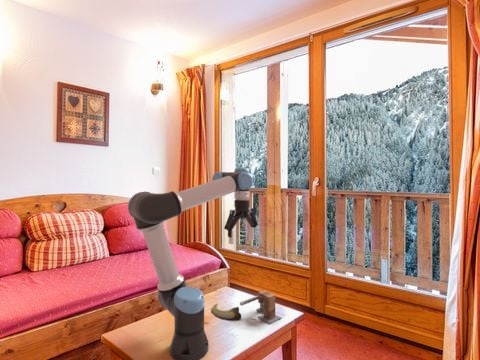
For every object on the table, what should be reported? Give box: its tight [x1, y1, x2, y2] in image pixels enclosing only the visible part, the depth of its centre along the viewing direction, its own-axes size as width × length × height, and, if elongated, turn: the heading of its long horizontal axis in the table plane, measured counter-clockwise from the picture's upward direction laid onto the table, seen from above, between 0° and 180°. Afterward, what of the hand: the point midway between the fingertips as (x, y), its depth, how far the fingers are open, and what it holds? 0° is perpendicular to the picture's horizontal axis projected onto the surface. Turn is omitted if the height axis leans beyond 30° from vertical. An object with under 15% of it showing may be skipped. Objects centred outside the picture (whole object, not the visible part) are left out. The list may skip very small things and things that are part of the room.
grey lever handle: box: [239, 289, 266, 315], centre depth 148 cm, size 18×5×10 cm, turn 132°
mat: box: [257, 313, 282, 325], centre depth 144 cm, size 8×8×1 cm
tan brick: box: [257, 290, 276, 320], centre depth 145 cm, size 8×4×11 cm, turn 40°
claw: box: [211, 303, 242, 320], centre depth 149 cm, size 20×10×3 cm, turn 56°
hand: (241, 241), depth 148 cm, fingers open, 13 cm apart
